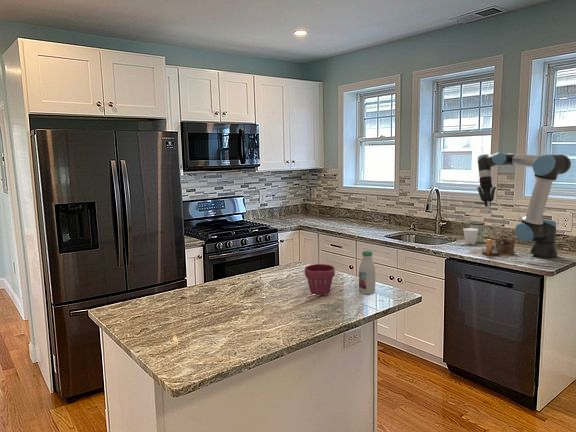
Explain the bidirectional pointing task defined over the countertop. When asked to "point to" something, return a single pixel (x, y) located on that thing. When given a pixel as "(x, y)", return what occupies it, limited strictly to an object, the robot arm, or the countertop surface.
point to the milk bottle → (367, 274)
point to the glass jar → (480, 228)
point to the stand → (502, 244)
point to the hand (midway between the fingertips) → (488, 211)
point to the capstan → (490, 248)
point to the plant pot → (319, 278)
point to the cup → (470, 235)
